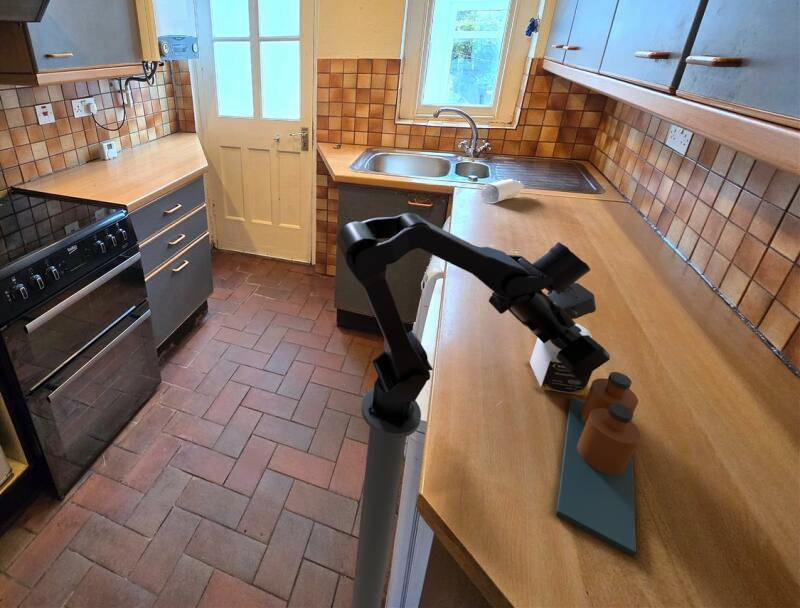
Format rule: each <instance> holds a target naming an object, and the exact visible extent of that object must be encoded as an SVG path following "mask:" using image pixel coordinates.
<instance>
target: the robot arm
mask: <svg viewBox="0 0 800 608" xmlns="http://www.w3.org/2000/svg"><path fill="white" fill-rule="evenodd" d="M379 239H387V240H385V241H382V242H380V241H379ZM388 239H389V240H388ZM336 244H337V245H336V246H337V247H338V250H339V252H340V253H341V256H342V257H343V259H344V261H345V264H346V266H347V267H348V269H349V270H350V272H351V273H352V275H353V276H354V277H355V279H356V280H357V282H358V283H360V285H361V286H362V288H363V290H364V292H365V295H366V297H367V299H368V302H369V305H370V307H371V309H372V312H373V313H374V314H373V315H374V316H375V319H376V321H377V323H378V325H379V328H380V330H381V333H382V335H383V338H384V340H383V348H384V351H383V352H382V353H380V354H379V355H377V356H376V358H374V359H373V360H372V365H373V367H374V370H375V373H376V374H377V378H376V379H375V380H374V382H373V388H374V393H373V402H372V404H371V405H370V407H369V409H368V411H369V412H370V413H371V414H373V415H375V416H377V417H379V418H381V419H383V420H384V421H386V422H388V423H390V424H392V425H394V426H396V427H398V428H402V426H403V424H404V422H405V420H408V419H409V417H410V415H411V414H412V412H413V407H414V401H415V400H416V401H417V399H418V397H419V395H420V394H421V392H422V391H423V389H424V388H425V385H426V384H427V383H428V381H430V380H431V371H434V369H433V366H432V365H431V363H430V362H429V358H428V354H427V353H428V352H427V351H426V350H425V348H424V346H423V345H422V342H421V341H420V339H419V338H418V337H417V334H416V333H415V331H414V330H411V331H409V332H407V331H406V328H405V325H404V323H403V320H402V317H401V315H400V311H399V309H398V308H397V305H396V302H395V299H394V297H393V293H392V292H391V289H390V286H389V283H388V281H387V280H388V279H387V275H388V265H391V264H395V263H396V262H398V261H399V260H400V259H402V258H403V257H404V256H405V255H407V254H409V252H411V251H413V250H417V249H419V250H422V251H424V252H426V253H428V254H430V255H432V256H434V257H436V258H438V259H441V260H443V261H445V262H447V263H449V264H450V265H453V266H455V267H457V268H459V269H460V270H463V271H465V272H468V273H470V274H471V275H473V276H474V277H475V278H476V279H478V281H480V282H482V284H483V285H485V286H486V287H487V288H488V289H489V290H491V291H492V293H491V295H490V297H489V299H488V303H489V304H490V305H491V306H492V307H493V308H494V309H495V310H496V311H497V312H498V314H501V315H503V314H505V312H507V311H508V312H509V313H510V314H511V315H512V316H513V317H514V318H516V320H517V321H519V323H520V324H522V325H523V326H524V327H526V328H527V329H529V331H531V332H532V333H533V334H534V335H535V337H537V338H539V339H540V340H541V341H542V342H543V343H546V342H547V341H549V340H554V339H557V338H558V339H560V340H561V341H562V342H563V343H564V344H565V345H566V347H565V348H563V349H562V350H560V351H559V352H558V355H557V359H558V360H559V361H560V362H561V363H562V364H563V365H564V366H565V367H566V368H567V369H568V370H569V371H570V372H571V373H572V374H573V375H574V376H575V377H576V378H580V379H582V378H584V377H585V376H587V375H588V374H590V373H591V372H592V371H593V372H594V371H596V370H597V369H598V368H600V367H601V366H603V365H604V364H605V363H607V362H608V361H610V360H611V355H610V353H609V352H608V351H607V350H606V348H604V347H603V346H602V345H600V344H599V343H598V342H597V341H596V340H595V339H594V338H593V337H592V338H591V337H590V336H589V335H585V336H580V337H579V338H578V337H577V336H576V335H575V334H573V333H572V332H571V331H570V330H569V329H568V328H571V327H572V326H574V325H575V324H577V322H575V321H574V320H576V319H579V318H581V317H583V316H587V315H589V314H592V313H595V312H596V310H597V306H596V299H595V295H594V293H593V292H592V291H590V290H589V289H587V288H586V287H584V286H583V285H581V284H580V283H578V282H577V281H579V280H580V279H581V278H582V277H584V276H585V275H586V274H588V273H589V272H590V271H591V267H590V266H589V265H588V263H586V262H585V261H584V260H582V259H581V258H580V257H578V256H577V255H576V254H575V253H574V252H573V251H571V250H570V249H569V247H568V246H566V245H565V244H563V243H561V242H556V243H555V244H554V245H552V246H551V248H550V249H548V250H547V251H546V252H545V253H544V254H542V255H541V256H540V257H538V258H537V259H536V260H535V261H533V262H532V263H531V262H530V261H529V260H528V259H526V258H525V257H524V256H522V255H516V254H515V255H514V254H507V253H506V252H505V251H503V250H499V249H496V248H492V247H490V246H489V247H488V246H481V247H480V246H478V245H474V244H472V243H470V242H468V241H466V240H464V239H462V238H460V237H458V236H456V235H454V234H453V233H451V232H448V231H447V230H444V229H443V228H441V227H439V226H437V225H435V224H433V223H431V222H429V221H427V220H425V219H423V218H422V217H421V216H419V215H418V214H417V213H413V212H406V213H401V214H399V215H397V216H388V217H374V218H370V219H366V220H363V221H353V222H349V223H347V224H345V225H343V227H341V229H340V230H339V231H338V233H337V234H336ZM543 290H546V291H547V294H546V293H545V292H544V291H543ZM567 327H568V328H567ZM564 334H565V335H567V337H569V338H570V339H571V340H572V341H573V342H571V341H570V340H569V339H568V338H567V337H566V336H565V335H564ZM593 372H592V373H593Z"/></svg>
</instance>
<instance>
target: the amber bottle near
mask: <svg viewBox="0 0 800 608" xmlns="http://www.w3.org/2000/svg"><path fill="white" fill-rule="evenodd" d="M633 418H634V413H632V411H631V410H630V409H629V408H627V407H626V406H624V405H622V404H619V403H611V404H609V407H608V409H603V408H598V409H594V410H593V411H591V413H590V415H589V418H588V420H587V422H586V425H585V427H584V430H583V432H582V435H581V437H580V439H579V442H578V444H577V450H578V453H579V455H580V456H581V458H582V459H583V460H584V461H585V462H586V463H587V464H588V465H590V466H591V467H592V468H594V469H595V470H597V471H599V472H602V473H604V474H608V475H619V474H622V473H623V471H624V470H625V468H626V466H627V464H628V462H629V460H630V458H631V456H632V457H633V454H634V452H635V449H636V448H637V446H638V444H639V441H640V440H641V432H640V430H639V428H638V426H636V424H635V423H634V422H633V421H632V420H633Z"/></svg>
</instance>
